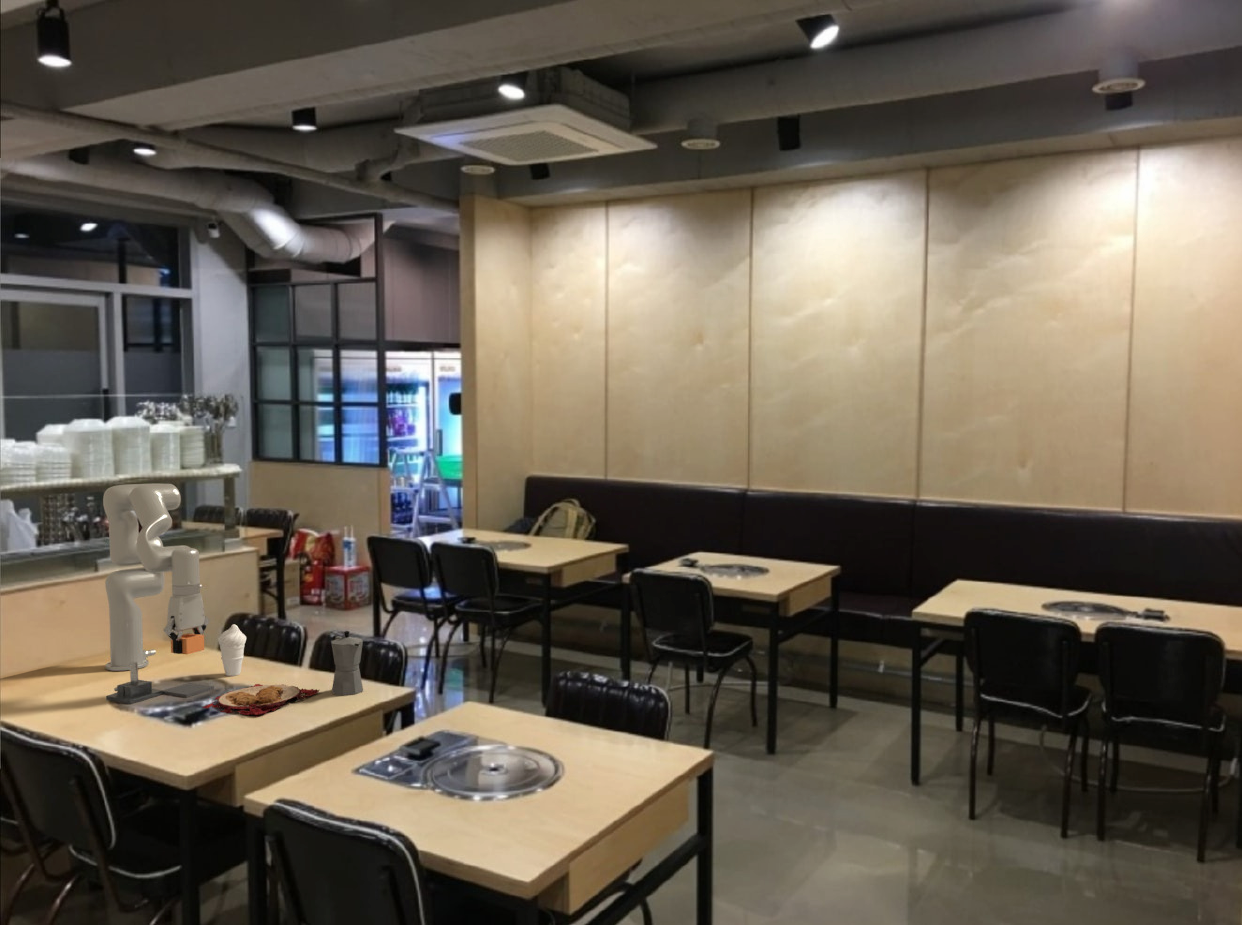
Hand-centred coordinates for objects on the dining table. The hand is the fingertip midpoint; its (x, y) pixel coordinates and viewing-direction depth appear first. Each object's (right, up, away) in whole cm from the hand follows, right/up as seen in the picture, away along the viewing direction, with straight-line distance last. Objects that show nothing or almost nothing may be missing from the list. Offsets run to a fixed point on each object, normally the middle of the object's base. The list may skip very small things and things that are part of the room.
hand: (187, 650), depth 295 cm
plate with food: (+24, -14, -9) cm, 29 cm away
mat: (0, -12, +1) cm, 12 cm away
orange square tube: (0, 0, 0) cm, 0 cm away
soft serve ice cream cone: (+6, -12, +20) cm, 24 cm away
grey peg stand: (-13, -13, -5) cm, 19 cm away
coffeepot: (+46, -12, +1) cm, 48 cm away
